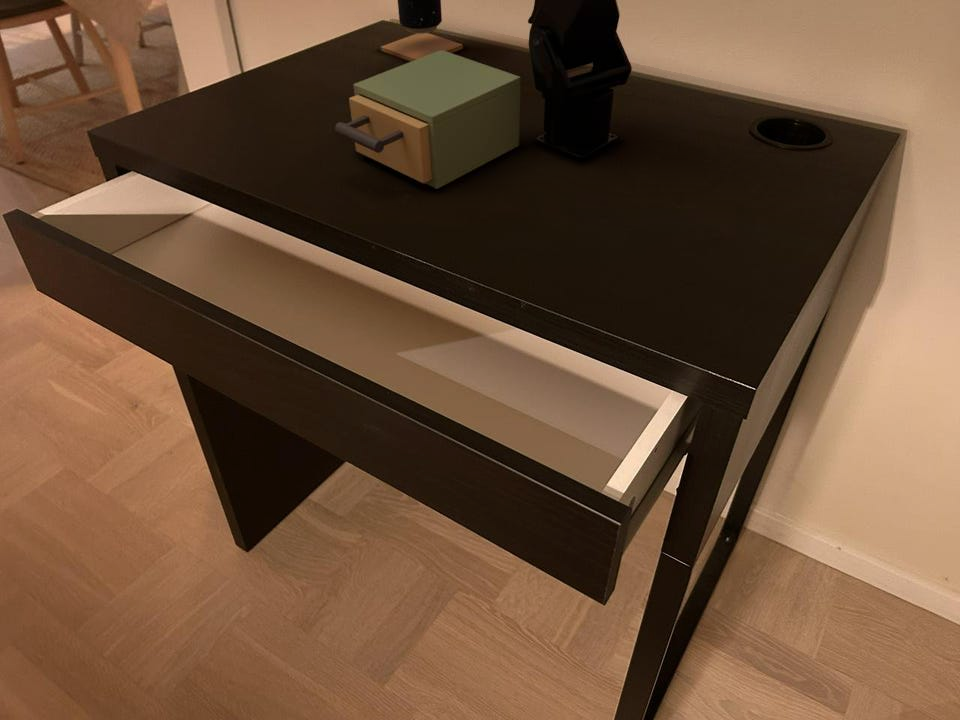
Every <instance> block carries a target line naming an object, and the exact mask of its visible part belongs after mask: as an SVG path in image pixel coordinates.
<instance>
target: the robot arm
mask: <svg viewBox="0 0 960 720" xmlns="http://www.w3.org/2000/svg"><path fill="white" fill-rule="evenodd" d="M620 15H621V14H620V8H619V4H618V1H617V0H534V3H533V8H532V12H531V14H530V16H529V18H528V19H527V23H528V24H529V25H530V29H529V34H528V35H529V36H528V51H529V56H530V57H529V58H530V63H531V68H532V69H531V70H532V74H533V80H534V87H535V89H536V90H537V91H538V92H540V93H541V98H543V99H544V110H543V111H544V112H543V132H544V133H543V134H541V135H539V136H537V137H536V143H537V144H538V145H541V146H543V147H546V148H548V149H550V150H553V151H556V152H558V153H561V154H564V155H566V156H568V157H571V158H574V159H576V160H579V161H585V160H587V159H588V158H590V157H592V156H594V155H595V154H597V153H599V152H600V151H602V150H603V149H605V148H607V147H609V146H611V145H612V144H614V143H616V142H617V140H618V136H617V135H616V134H613V133H610V131H611V121H612V111H613V102H614V94H615V89H613V88H615V87H618V86H624V85H626V84H627V83H628V80H629V78H630V75H631V72H632V69H633V68H632V65H631V62H630V60H629V57H628V55H627V53H626V50H625V48H624V46H623V42H622V41H621V39H620V36H619V34H618V32H617V30H618V26H619V21H620ZM591 64H592V66H589V67H586V68H583V69H579V70H576V71H572V72H569V73H567V71H570V70H574V69H576V68H580V67H583V66H588V65H591Z"/></svg>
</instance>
